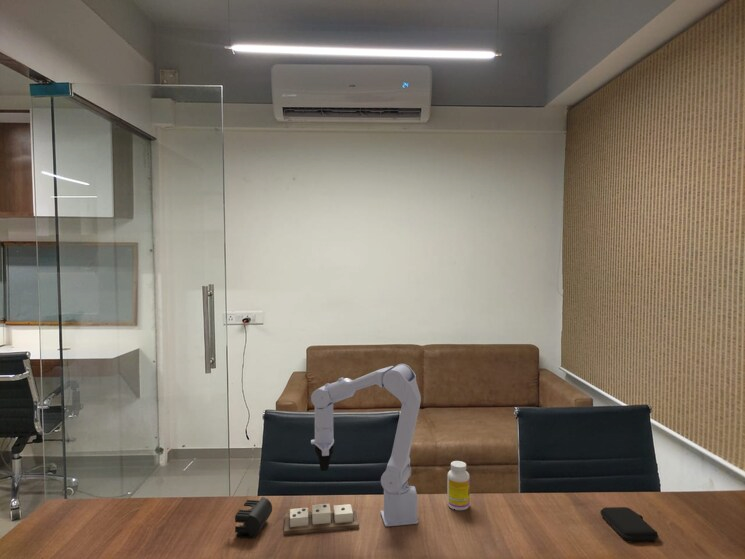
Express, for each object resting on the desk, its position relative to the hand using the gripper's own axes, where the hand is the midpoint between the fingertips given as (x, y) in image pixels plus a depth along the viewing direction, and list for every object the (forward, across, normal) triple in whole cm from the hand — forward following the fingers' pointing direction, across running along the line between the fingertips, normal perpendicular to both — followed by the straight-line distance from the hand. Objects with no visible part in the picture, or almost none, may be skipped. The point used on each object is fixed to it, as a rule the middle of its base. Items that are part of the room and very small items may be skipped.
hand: (324, 469), depth 144 cm
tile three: (+10, +11, -8) cm, 17 cm away
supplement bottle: (+11, +8, +40) cm, 42 cm away
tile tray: (+10, +11, -2) cm, 15 cm away
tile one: (+10, +11, +5) cm, 16 cm away
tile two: (+9, +11, -1) cm, 14 cm away
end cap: (+11, +11, -20) cm, 25 cm away
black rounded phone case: (+11, +27, +83) cm, 88 cm away
